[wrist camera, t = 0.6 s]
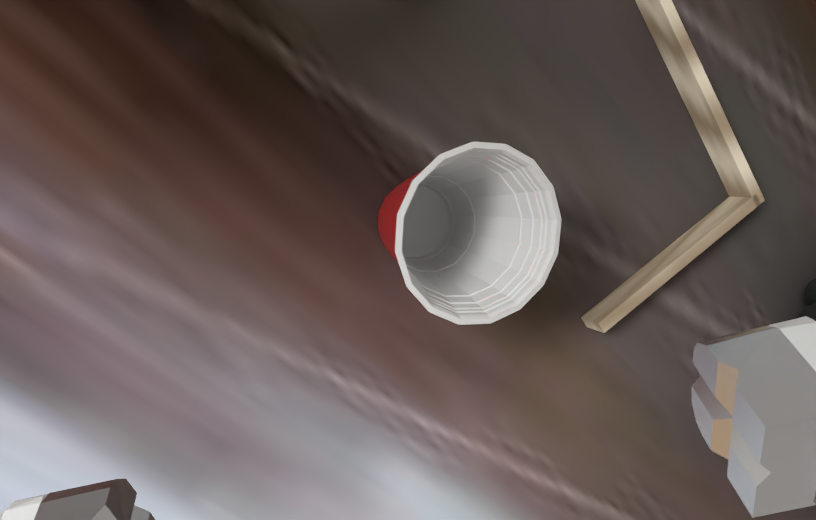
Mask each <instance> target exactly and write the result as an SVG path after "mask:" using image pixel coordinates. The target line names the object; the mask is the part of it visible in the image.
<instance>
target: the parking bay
mask: <svg viewBox="0 0 816 520" xmlns="http://www.w3.org/2000/svg"><path fill="white" fill-rule="evenodd" d="M635 2H636V4H637V6H638V8H639V10H640V12H641V14H642V16H643V18H644V20H645V23H646V25H647V27H648V29H649V31H650V33H651V35H652V37H653V39H654V41H655V43H656V45H657V47H658V50H659V52H660V54H661V56H662V58H663V60H664V62H665V64H666V66H667V68H668V70H669V72H670V74H671V77H672V79H673V81H674V83H675V85H676V87H677V89H678V91H679V93H680V95H681V97H682V99H683V101H684V104H685V106H686V108H687V110H688V112H689V114H690V116H691V118H692V120H693V122H694V124H695V126H696V128H697V131H698V133H699V135H700V137H701V139H702V141H703V143H704V145H705V147H706V149H707V151H708V153H709V155H710V157H711V160H712V162H713V164H714V166H715V168H716V170H717V172H718V174H719V176H720V178H721V180H722V182H723V184H724V187H725V189H726V191H727V193H728V195H729V197H728V198H727V199H726V200H725V201H723V202H722V203H721V204H720V205H718V206H717V207H716V208H715V209H713V210H712V211H711V212H710V213H709V214H707V215H706V216H705V217H704V218H702V219H701V220H700V221H699V222H698V223H696V224H695V225H694V226H693V227H691V228H690V229H689V230H688V231H686V232H685V233H684V234H683V235H682V236H680V237H679V238H678V239H677V240H675V241H674V242H673V243H672V244H670V245H669V246H668V247H667V248H666V249H664V250H663V251H662V252H661V253H659V254H658V255H657V256H656V257H654V258H653V259H652V260H651V261H650V262H648V263H647V264H646V265H645V266H643V267H642V268H641V269H640V270H638V271H637V272H636V273H635V274H634V275H632V276H631V277H630V278H629V279H627V280H626V281H625V282H624V283H622V284H621V285H620V286H619V287H618V288H616V289H615V290H614V291H613V292H611V293H610V294H609V295H608V296H606V297H605V298H604V299H603V300H602V301H600V302H599V303H598V304H597V305H595V306H594V307H593V308H592V309H590V310H589V311H588V312H587V313H586V314H584V315H583V316H582V317H581V319H582V320H583V322H584V324H585V325H586V327H588V328H591V329H594V330H597V331H600V332H602V333H605V332H606V331H608V330H609V329H610V328H611V327H612V326H614V325H615V324H616V323H617V322H618V321H620V320H621V319H622V318H623V317H624V316H626V315H627V314H628V313H629V312H631V311H632V310H633V309H634V308H635V307H637V306H638V305H639V304H640V303H641V302H643V301H644V300H645V299H646V298H647V297H649V296H650V295H651V294H652V293H653V292H655V291H656V290H657V289H658V288H660V287H661V286H662V285H663V284H664V283H666V282H667V281H668V280H669V279H670V278H672V277H673V276H674V275H675V274H676V273H678V272H679V271H680V270H681V269H683V268H684V267H685V266H686V265H687V264H689V263H690V262H691V261H692V260H693V259H695V258H696V257H697V256H698V255H699V254H701V253H702V252H703V251H704V250H705V249H707V248H708V247H709V246H710V245H712V244H713V243H714V242H715V241H716V240H718V239H719V238H720V237H721V236H722V235H724V234H725V233H726V232H727V231H728V230H730V229H731V228H732V227H733V226H735V225H736V224H737V223H738V222H739V221H741V220H742V219H743V218H744V217H745V216H747V215H748V214H749V213H750V212H751V211H753V210H754V209H755V208H756V207H757V206H759V205H760V204H761V203H762V202H764V201H765V200H764V198H763V195H762V193H761V191H760V189H759V187H758V185H757V182H756V180H755V178H754V176H753V174H752V172H751V170H750V167H749V165H748V163H747V161H746V159H745V157H744V155H743V152H742V150H741V148H740V146H739V144H738V142H737V140H736V137H735V135H734V133H733V131H732V129H731V127H730V125H729V122H728V120H727V118H726V116H725V114H724V112H723V110H722V107H721V105H720V103H719V101H718V99H717V97H716V95H715V92H714V90H713V88H712V86H711V84H710V82H709V79H708V77H707V75H706V73H705V71H704V69H703V67H702V64H701V62H700V60H699V58H698V56H697V54H696V52H695V49H694V47H693V45H692V43H691V41H690V39H689V37H688V34H687V32H686V30H685V28H684V26H683V24H682V22H681V19H680V17H679V15H678V13H677V11H676V9H675V7H674V4H673V2H672V0H635Z"/></svg>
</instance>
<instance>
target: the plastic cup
mask: <svg viewBox="0 0 816 520" xmlns="http://www.w3.org/2000/svg"><path fill="white" fill-rule="evenodd" d="M561 220H562V219H561V215H560V211H559V207H558V203H557V199H556V195H555V191H554V187H553V185H552V184H551V183H550V181H549V180H548V178H547V177H546V176H545V174H544V173H543V171H542V170H541V169H540V167H539V166H538V165H537V163H536V162H535V160H533V159H532V158H530V157H528V156H526V155H525V154H523V153H521V152H519V151H518V150H516V149H514V148H512V147H511V146H509V145H507V144H501V143H487V142H471V143H468V144H465V145H463V146H460V147H457V148H455V149H452V150H450V151H447V152H444V153H442V154H440V155H438V156H437V157H436V158H435V159H434V160H433V161H432V162H431V163H430V164H429V165H428V166H427V167H426V168H425V169H424V170H423V171H422V172H420V173H418V174H416V175H414V176H412V177H410V178H408V179H406V180H405V181H404V182H403V183H401V184H400V185H398V186H396V187H395V188H394V189H393V190H392V191H391V192H390V193H389V194H388V195H387V196H386V197H385V199H384V201H383V203H382V206H381V208H380V210H379V212H378V231H379V234H380V237H381V239H382V242H383V245H384V246H385V247H386V248H387V249H388V251H389V253H390V254H391V255H392V256H393V257H394V258H395V259H396V260H397V261H398V263H399V266H400V269H401V272H402V275H403V278H404V281H405V284H406V287H407V288H408V289H409V290H410V291H411V292H412V294H413V295H414V296H415V297H416V298H417V299H418V300H419V301H420V302H421V304H422V305H423V306H424V307H425V308H426V309H427V310H428V311H429V312H430V313H432V314H435V315H437V316H440V317H442V318H444V319H447V320H449V321H451V322H454V323H456V324H458V325H463V324H490V323H493V322H495V321H497V320H499V319H501V318H503V317H506V316H508V315H510V314H512V313H514V312H516V311H518V310H520V309H521V308H522V307H523V306H524V305H525V304H526V303H527V302H528V301H529V300H530V299H531V298H532V297H533V296H534V295H535V294H536V293H537V292H538V291H539V290H540V289H541V287H542V286H543V285H544V284H545V281H546V279H547V277H548V275H549V273H550V270H551V268H552V266H553V264H554V262H555V260H556V257H557V255H558V251H559V241H560V231H561Z"/></svg>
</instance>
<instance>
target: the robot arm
mask: <svg viewBox="0 0 816 520" xmlns="http://www.w3.org/2000/svg"><path fill="white" fill-rule="evenodd" d="M693 364H694V366H695V367H696V369H697V370H698V372H699V373H700V376H699V377H698V378H697V380H696V381H695V382H694V383H693V385H692V406H693V410H694V415H695V419H696V422H697V424H698V427H699V429H700V431H701V434H702V436H703V437H704V439H705V441H706V443H707V444H708V446H709V448H710V449H711V451H713V452H715V453H717V454H719V455H721V456H722V457H724V458H726V459H728V471H727V477H728V479H729V481H730V482H731V484H732V485H733V487H734V489H735V490H736V492H737V493H738V495H739V497H740V498H741V500H742V502H743V503H744V505H745V506H746V508H747V510H748V511H749V513H750V514H751V516H752V518H754V517H759V516H764V515H769V514H774V513H779V512H784V511H788V510H793V509H798V508H803V507H808V506H813V505H816V321H815V320H814V319H811V318H809V317H807V316H804V317H800V318H796V319H792V320H788V321H784V322H780V323H775V324H771V325H769V326H762V327H758V328H754V329H750V330H746V331H742V332H738V333H734V334H729V335H725V336H721V337H717V338H713V339H709V340H705V341H701V342H697V344H696V346H695V348H694V352H693ZM136 494H137V493H136V491H135V490H134V489H133V487H132V486H131V485H130V484H129V482H128V481H127V480H126V479H115V480H111V481H106V482H101V483H96V484H91V485H87V486H82V487H77V488H72V489H67V490H62V491H58V492H53V493H49V494H46V495H41V496H36V497H32V498H27V499H22V500H17V501H15V502H14V503H12V504H11V505H10V506H9V507H8V508H7V509H6V510H5V512H4V514H3V517H2V519H1V520H155V519H154V517H153V516H152V514H151V513H150V512H149V511H146V510H144V509H142V508H139V507H137V506H134V503H135V499H136Z"/></svg>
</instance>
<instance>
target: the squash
mask: <svg viewBox="0 0 816 520" xmlns="http://www.w3.org/2000/svg"><path fill="white" fill-rule="evenodd" d="M805 296H806V299H807V302H808V304H809V306H808V307H806V308H804V309H803V310H802V312H801V314H800V316H799V318H800V317H804V316H807V317H809V318H811V319H814V320H815V321H816V278H815V279H814V280H812V281H811V282H810V283H809V284H808V286H807V287H806V289H805Z"/></svg>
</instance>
